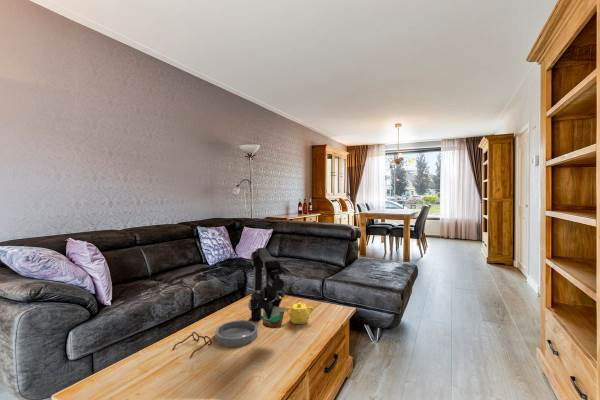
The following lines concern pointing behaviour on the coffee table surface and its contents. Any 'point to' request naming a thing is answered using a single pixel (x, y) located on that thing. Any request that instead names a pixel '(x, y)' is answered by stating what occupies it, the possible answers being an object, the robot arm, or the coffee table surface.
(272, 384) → the coffee table surface
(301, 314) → the teapot
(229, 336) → the bowl
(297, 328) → the coffee table surface
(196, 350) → the glasses
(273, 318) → the food container
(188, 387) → the coffee table surface
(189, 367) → the coffee table surface
